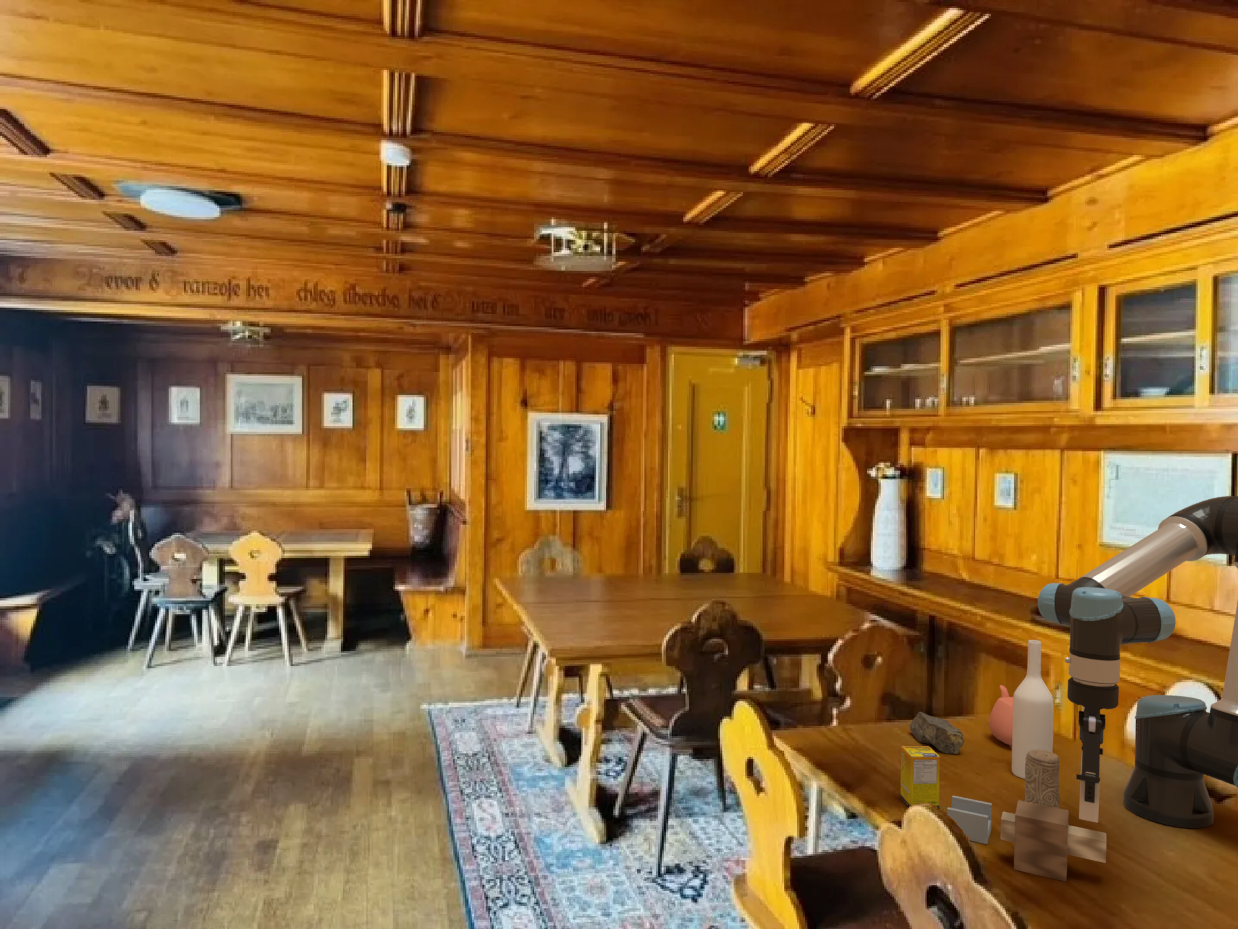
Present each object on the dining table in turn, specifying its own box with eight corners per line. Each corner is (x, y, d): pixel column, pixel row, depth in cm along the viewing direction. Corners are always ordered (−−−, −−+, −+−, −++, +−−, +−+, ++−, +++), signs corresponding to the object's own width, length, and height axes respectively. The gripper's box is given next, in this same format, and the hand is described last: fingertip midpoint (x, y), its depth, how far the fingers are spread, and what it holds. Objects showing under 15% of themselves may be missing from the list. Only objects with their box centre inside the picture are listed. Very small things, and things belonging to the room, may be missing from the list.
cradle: (991, 829, 159) (991, 803, 159) (987, 844, 153) (987, 817, 153) (952, 820, 163) (952, 795, 163) (946, 835, 157) (947, 809, 157)
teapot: (1024, 729, 217) (1025, 682, 217) (1068, 758, 197) (1069, 706, 197) (973, 729, 217) (974, 682, 216) (1012, 758, 197) (1013, 706, 196)
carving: (1060, 810, 168) (1061, 751, 168) (1058, 824, 162) (1059, 763, 162) (1025, 803, 172) (1027, 745, 171) (1022, 816, 165) (1023, 756, 165)
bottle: (1013, 779, 184) (1017, 643, 183) (1009, 765, 192) (1012, 635, 191) (1054, 784, 181) (1058, 646, 181) (1048, 770, 189) (1051, 638, 188)
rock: (980, 735, 199) (948, 729, 195) (973, 763, 198) (940, 757, 195) (932, 711, 215) (901, 704, 211) (925, 736, 215) (894, 730, 211)
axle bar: (1105, 854, 142) (1106, 833, 142) (1105, 863, 139) (1106, 841, 139) (1002, 831, 150) (1003, 811, 150) (1000, 839, 147) (1001, 819, 147)
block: (1067, 863, 147) (1068, 810, 146) (1066, 881, 140) (1067, 826, 140) (1017, 852, 150) (1018, 800, 150) (1013, 869, 144) (1015, 815, 144)
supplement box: (927, 797, 174) (928, 745, 174) (939, 810, 168) (940, 756, 168) (899, 797, 174) (900, 745, 173) (910, 810, 168) (911, 756, 167)
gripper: (1069, 661, 154) (1065, 776, 154) (1066, 694, 132) (1061, 827, 132) (1117, 668, 150) (1112, 785, 151) (1121, 702, 128) (1116, 839, 129)
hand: (1088, 805), depth 142 cm, fingers open, 13 cm apart
